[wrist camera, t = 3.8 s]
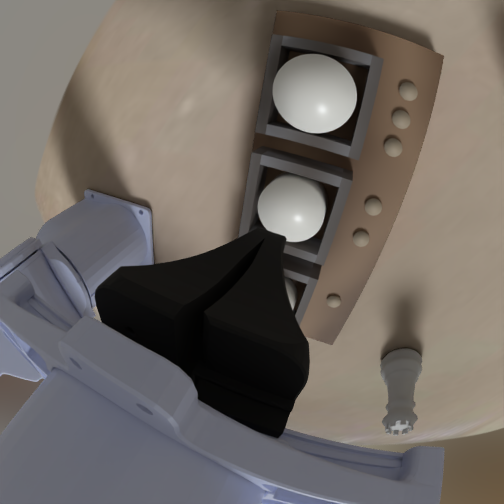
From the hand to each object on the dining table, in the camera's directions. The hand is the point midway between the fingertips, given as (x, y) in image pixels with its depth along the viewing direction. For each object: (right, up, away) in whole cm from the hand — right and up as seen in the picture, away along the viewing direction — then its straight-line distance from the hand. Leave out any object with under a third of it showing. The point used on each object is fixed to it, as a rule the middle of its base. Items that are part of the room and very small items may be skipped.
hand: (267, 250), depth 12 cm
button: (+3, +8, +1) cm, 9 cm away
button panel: (+4, +4, +7) cm, 9 cm away
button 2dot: (+2, +3, +6) cm, 7 cm away
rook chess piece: (+14, -11, +12) cm, 21 cm away
